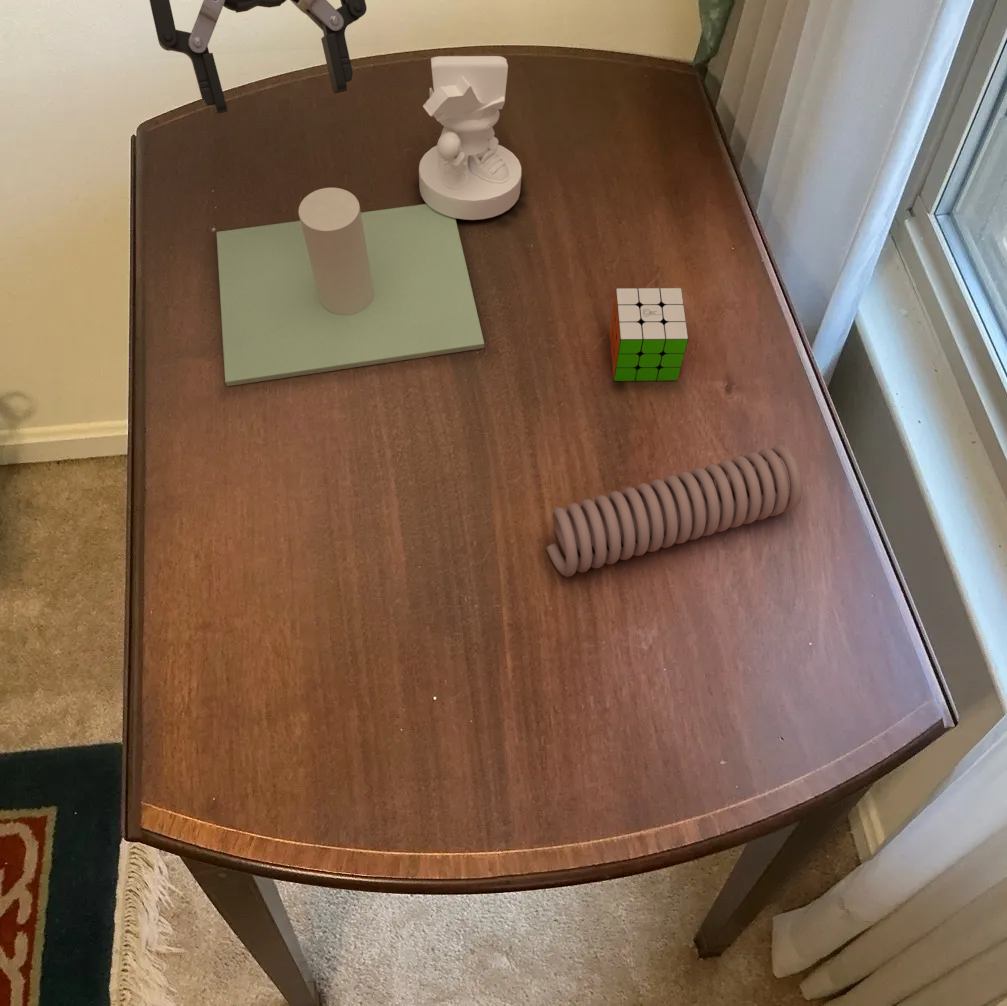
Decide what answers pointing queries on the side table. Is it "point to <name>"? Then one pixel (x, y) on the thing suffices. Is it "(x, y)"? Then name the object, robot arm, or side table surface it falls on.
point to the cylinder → (337, 250)
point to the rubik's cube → (648, 334)
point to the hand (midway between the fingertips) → (282, 102)
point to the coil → (674, 510)
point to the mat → (344, 338)
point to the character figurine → (468, 140)
